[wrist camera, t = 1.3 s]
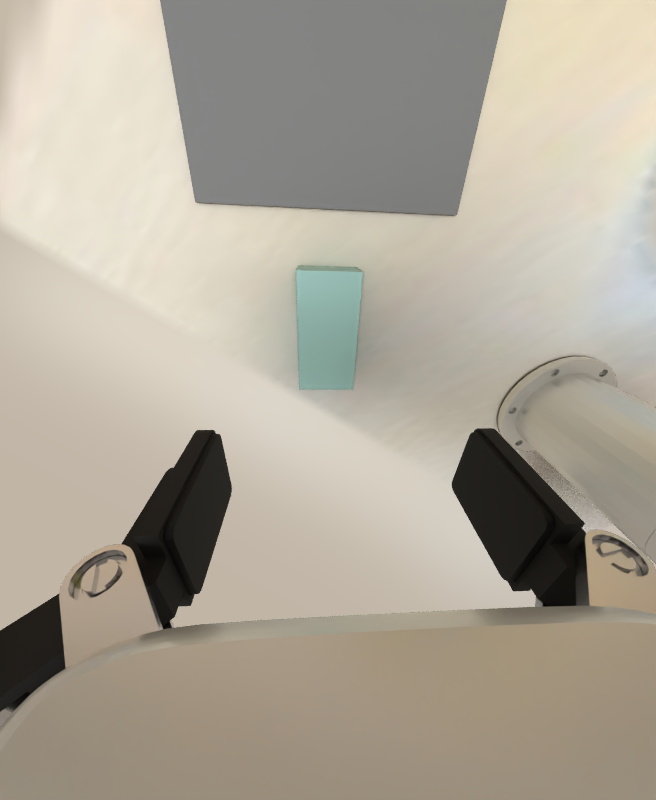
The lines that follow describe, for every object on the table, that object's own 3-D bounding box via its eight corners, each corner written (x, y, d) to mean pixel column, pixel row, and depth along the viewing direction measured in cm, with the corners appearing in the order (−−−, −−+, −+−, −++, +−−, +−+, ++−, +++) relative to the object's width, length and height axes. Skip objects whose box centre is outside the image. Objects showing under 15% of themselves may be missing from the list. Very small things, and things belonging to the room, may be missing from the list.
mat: (510, -34, 16) (516, -43, 15) (453, 215, 22) (456, 215, 21) (151, -75, 14) (145, -87, 14) (198, 202, 21) (195, 202, 20)
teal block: (355, 267, 24) (363, 272, 20) (348, 371, 29) (352, 389, 25) (298, 265, 23) (296, 270, 20) (300, 371, 29) (299, 389, 25)
